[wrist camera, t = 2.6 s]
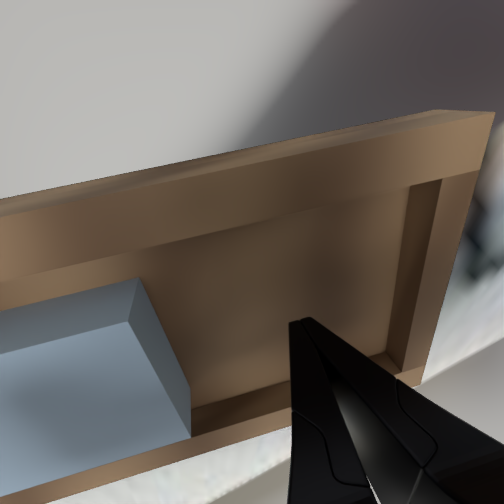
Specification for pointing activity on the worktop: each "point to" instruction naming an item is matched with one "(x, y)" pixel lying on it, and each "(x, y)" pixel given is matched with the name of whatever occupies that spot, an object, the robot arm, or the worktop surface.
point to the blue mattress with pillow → (86, 385)
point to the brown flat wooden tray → (259, 262)
